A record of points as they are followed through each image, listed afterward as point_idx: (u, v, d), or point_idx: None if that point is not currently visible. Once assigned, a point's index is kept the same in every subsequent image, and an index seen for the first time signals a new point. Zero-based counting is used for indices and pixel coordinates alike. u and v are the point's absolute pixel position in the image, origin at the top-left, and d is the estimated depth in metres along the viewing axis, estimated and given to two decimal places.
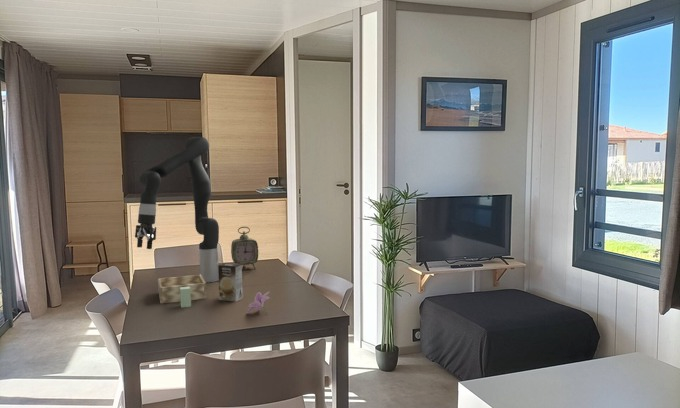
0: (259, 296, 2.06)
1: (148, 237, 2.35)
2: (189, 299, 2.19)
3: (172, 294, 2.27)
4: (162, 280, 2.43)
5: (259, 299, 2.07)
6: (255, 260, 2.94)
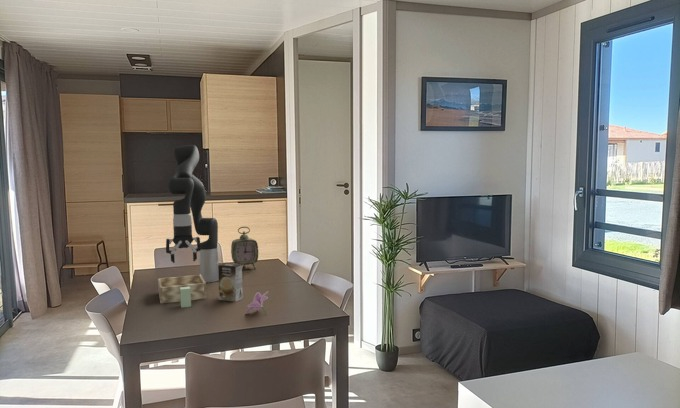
0: (258, 296, 2.06)
1: None
2: (189, 299, 2.19)
3: (172, 294, 2.27)
4: (162, 280, 2.43)
5: (258, 299, 2.07)
6: (255, 260, 2.94)
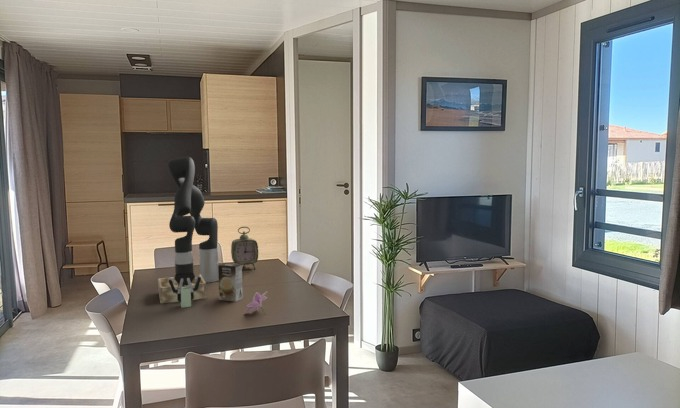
0: (257, 296, 2.06)
1: (192, 288, 2.20)
2: (189, 299, 2.19)
3: (172, 294, 2.27)
4: (162, 280, 2.43)
5: (257, 299, 2.07)
6: (255, 260, 2.94)
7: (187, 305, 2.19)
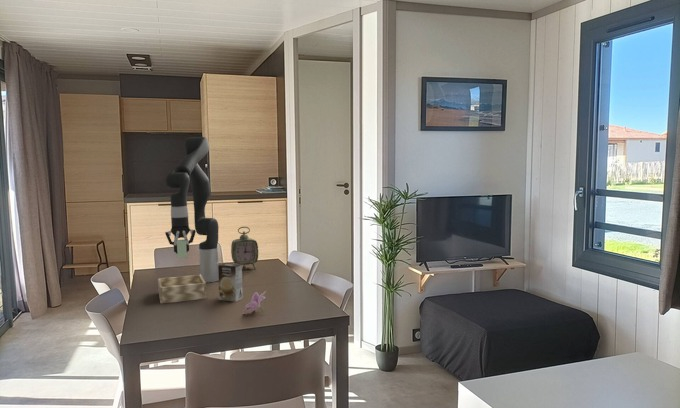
0: (256, 296, 2.06)
1: (188, 241, 2.35)
2: (185, 250, 2.34)
3: (172, 294, 2.27)
4: (162, 280, 2.43)
5: (256, 299, 2.07)
6: (255, 260, 2.94)
7: (183, 256, 2.34)
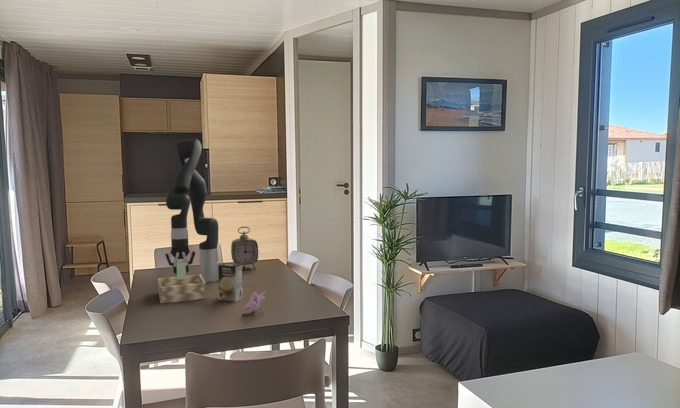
0: (255, 296, 2.06)
1: (187, 262, 2.37)
2: (184, 272, 2.36)
3: (172, 294, 2.27)
4: (162, 280, 2.43)
5: (255, 299, 2.07)
6: (255, 260, 2.94)
7: (182, 277, 2.36)
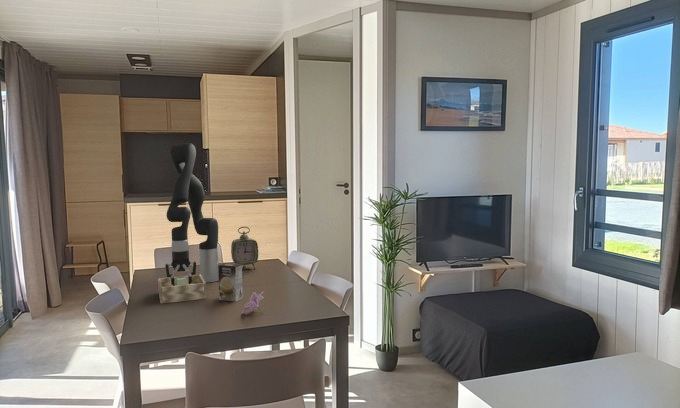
0: (254, 296, 2.06)
1: (190, 273, 2.38)
2: None
3: (172, 294, 2.27)
4: (162, 280, 2.43)
5: (254, 299, 2.07)
6: (255, 260, 2.94)
7: None
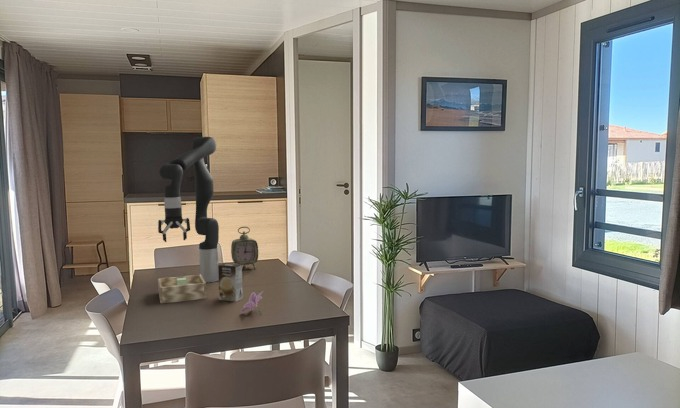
0: (253, 296, 2.06)
1: (184, 229, 2.40)
2: None
3: (172, 294, 2.27)
4: (162, 280, 2.43)
5: (253, 299, 2.07)
6: (255, 260, 2.94)
7: None
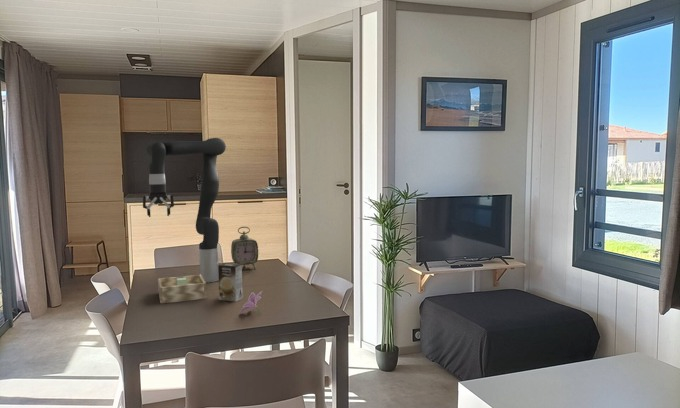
0: (252, 296, 2.06)
1: (168, 205, 2.49)
2: None
3: (172, 294, 2.27)
4: (162, 280, 2.43)
5: (252, 299, 2.07)
6: (255, 260, 2.94)
7: None
